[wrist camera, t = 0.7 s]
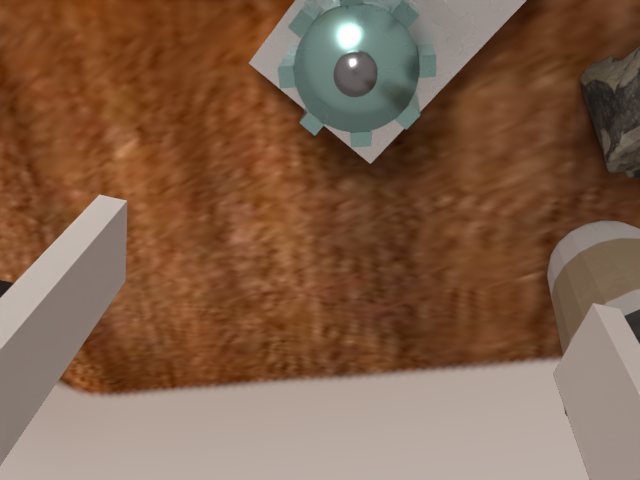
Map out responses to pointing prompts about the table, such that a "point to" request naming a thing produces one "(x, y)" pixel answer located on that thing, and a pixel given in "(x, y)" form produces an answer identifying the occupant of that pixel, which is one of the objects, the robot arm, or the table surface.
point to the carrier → (374, 60)
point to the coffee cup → (595, 275)
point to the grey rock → (616, 110)
